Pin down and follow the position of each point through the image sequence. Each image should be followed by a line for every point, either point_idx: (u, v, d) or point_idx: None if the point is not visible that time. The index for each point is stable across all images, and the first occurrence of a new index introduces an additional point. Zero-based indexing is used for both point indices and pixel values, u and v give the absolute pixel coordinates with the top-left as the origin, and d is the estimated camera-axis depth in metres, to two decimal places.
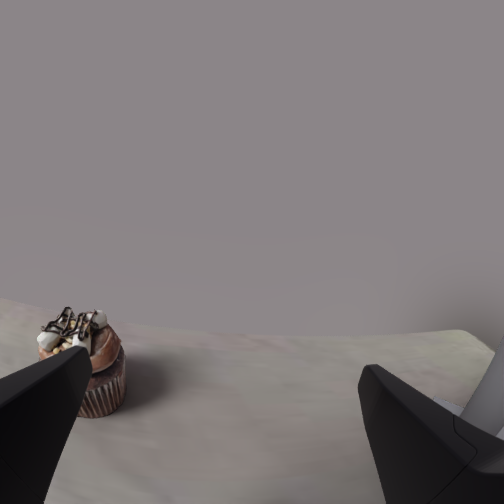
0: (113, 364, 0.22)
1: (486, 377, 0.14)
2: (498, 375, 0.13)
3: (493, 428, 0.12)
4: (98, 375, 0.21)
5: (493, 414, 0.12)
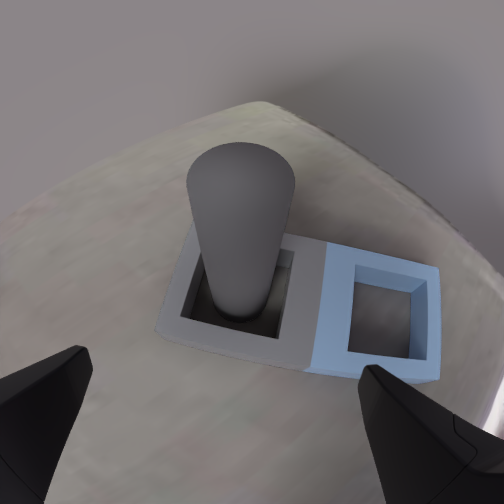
0: None
1: None
2: (199, 231, 0.13)
3: (243, 286, 0.16)
4: None
5: (227, 275, 0.15)
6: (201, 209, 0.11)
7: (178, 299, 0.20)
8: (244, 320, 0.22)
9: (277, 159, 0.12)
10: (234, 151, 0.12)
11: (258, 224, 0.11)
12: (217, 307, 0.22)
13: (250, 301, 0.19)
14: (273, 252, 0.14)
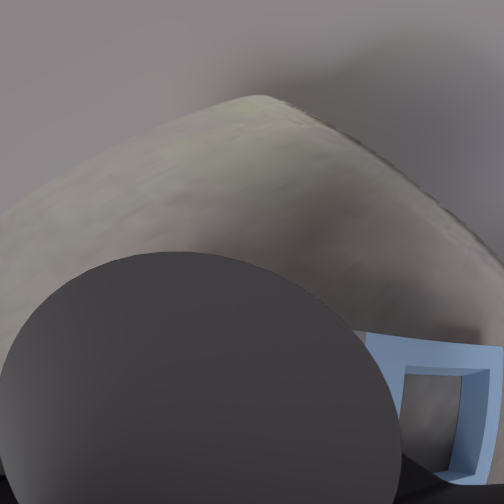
0: None
1: None
2: None
3: None
4: None
5: None
6: None
7: None
8: None
9: (337, 357, 0.03)
10: (140, 311, 0.03)
11: None
12: None
13: None
14: None
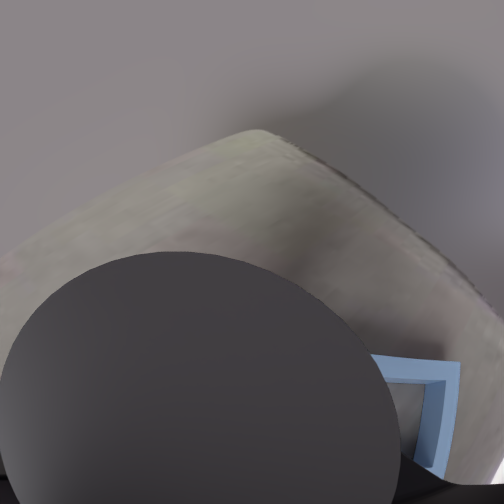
0: None
1: None
2: None
3: None
4: None
5: None
6: None
7: None
8: None
9: (337, 356, 0.03)
10: (141, 310, 0.03)
11: None
12: None
13: None
14: None
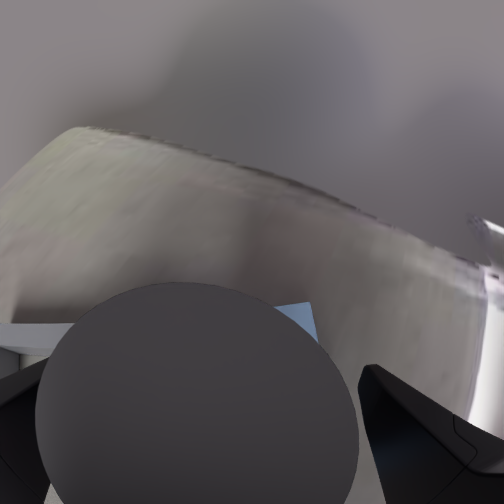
0: None
1: None
2: None
3: None
4: None
5: None
6: None
7: None
8: None
9: (307, 364, 0.03)
10: (158, 328, 0.04)
11: None
12: None
13: None
14: None
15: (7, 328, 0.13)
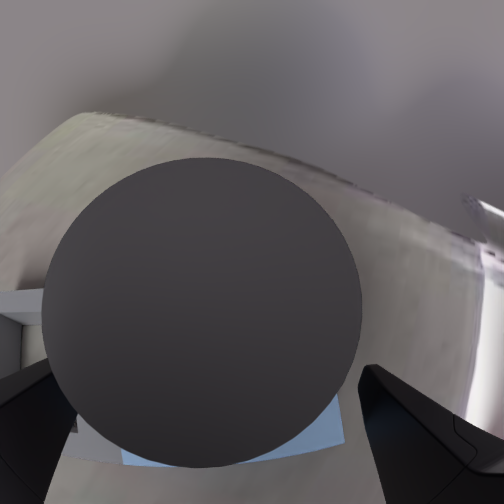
0: None
1: None
2: None
3: None
4: None
5: None
6: (72, 406, 0.03)
7: None
8: None
9: (304, 213, 0.04)
10: (176, 188, 0.04)
11: (245, 454, 0.03)
12: None
13: None
14: None
15: (12, 295, 0.14)
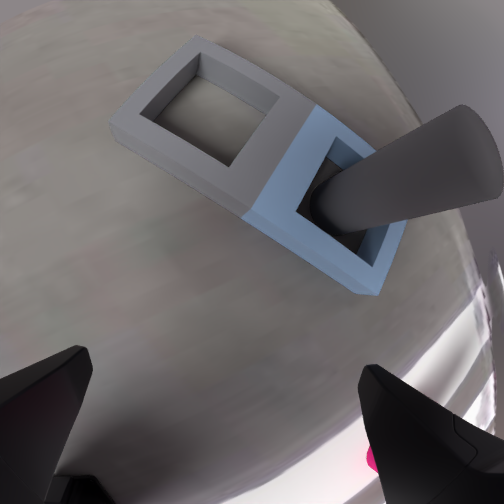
0: None
1: (407, 136, 0.12)
2: (421, 150, 0.11)
3: (386, 212, 0.15)
4: None
5: (393, 194, 0.13)
6: (458, 146, 0.09)
7: (144, 98, 0.16)
8: (327, 230, 0.22)
9: (499, 161, 0.10)
10: (481, 126, 0.09)
11: (477, 194, 0.09)
12: (319, 202, 0.21)
13: (364, 223, 0.18)
14: (439, 211, 0.13)
15: (224, 51, 0.18)
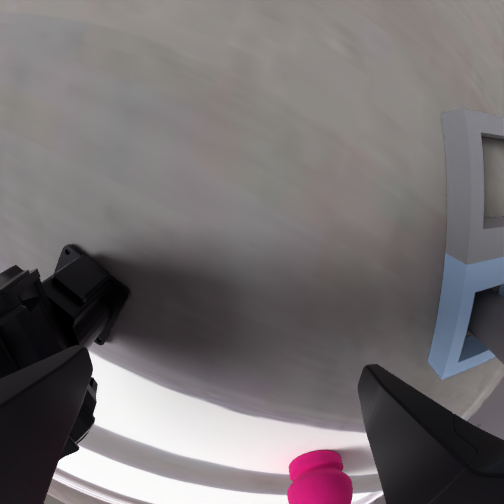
0: None
1: None
2: None
3: None
4: None
5: None
6: None
7: (489, 127, 0.14)
8: None
9: None
10: None
11: None
12: (479, 297, 0.19)
13: (488, 341, 0.17)
14: None
15: None
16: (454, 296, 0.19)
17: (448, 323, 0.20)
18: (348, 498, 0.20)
